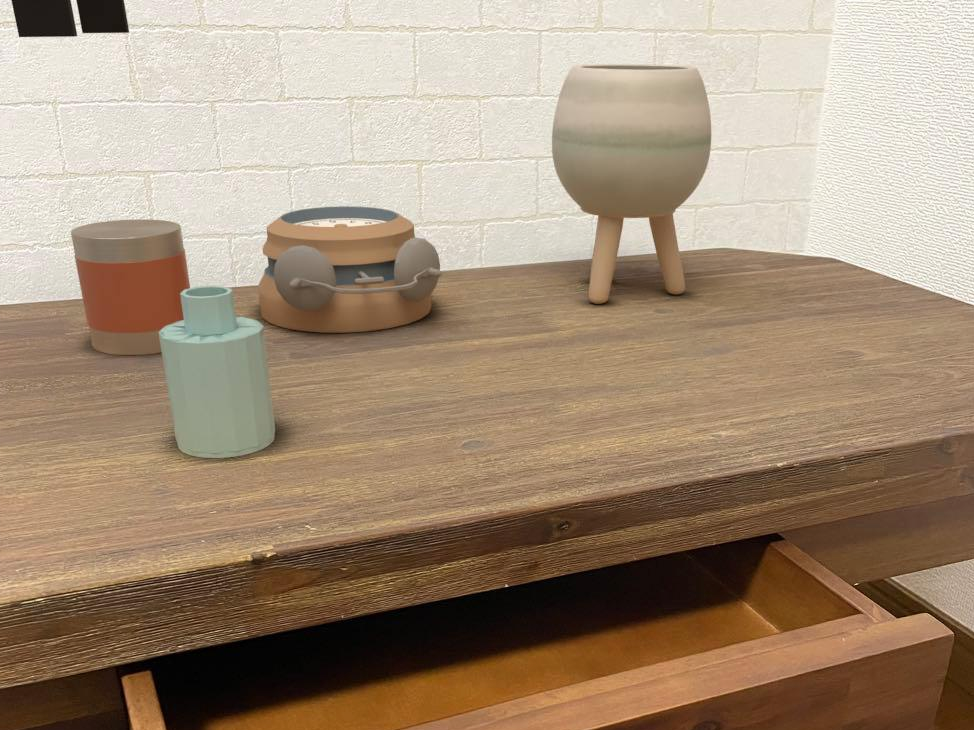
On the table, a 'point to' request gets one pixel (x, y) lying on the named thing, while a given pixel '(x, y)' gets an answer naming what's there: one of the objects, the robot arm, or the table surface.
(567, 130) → the planter
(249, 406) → the bottle
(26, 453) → the table surface
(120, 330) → the tin can
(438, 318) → the table surface
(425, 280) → the alarm clock
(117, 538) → the table surface
